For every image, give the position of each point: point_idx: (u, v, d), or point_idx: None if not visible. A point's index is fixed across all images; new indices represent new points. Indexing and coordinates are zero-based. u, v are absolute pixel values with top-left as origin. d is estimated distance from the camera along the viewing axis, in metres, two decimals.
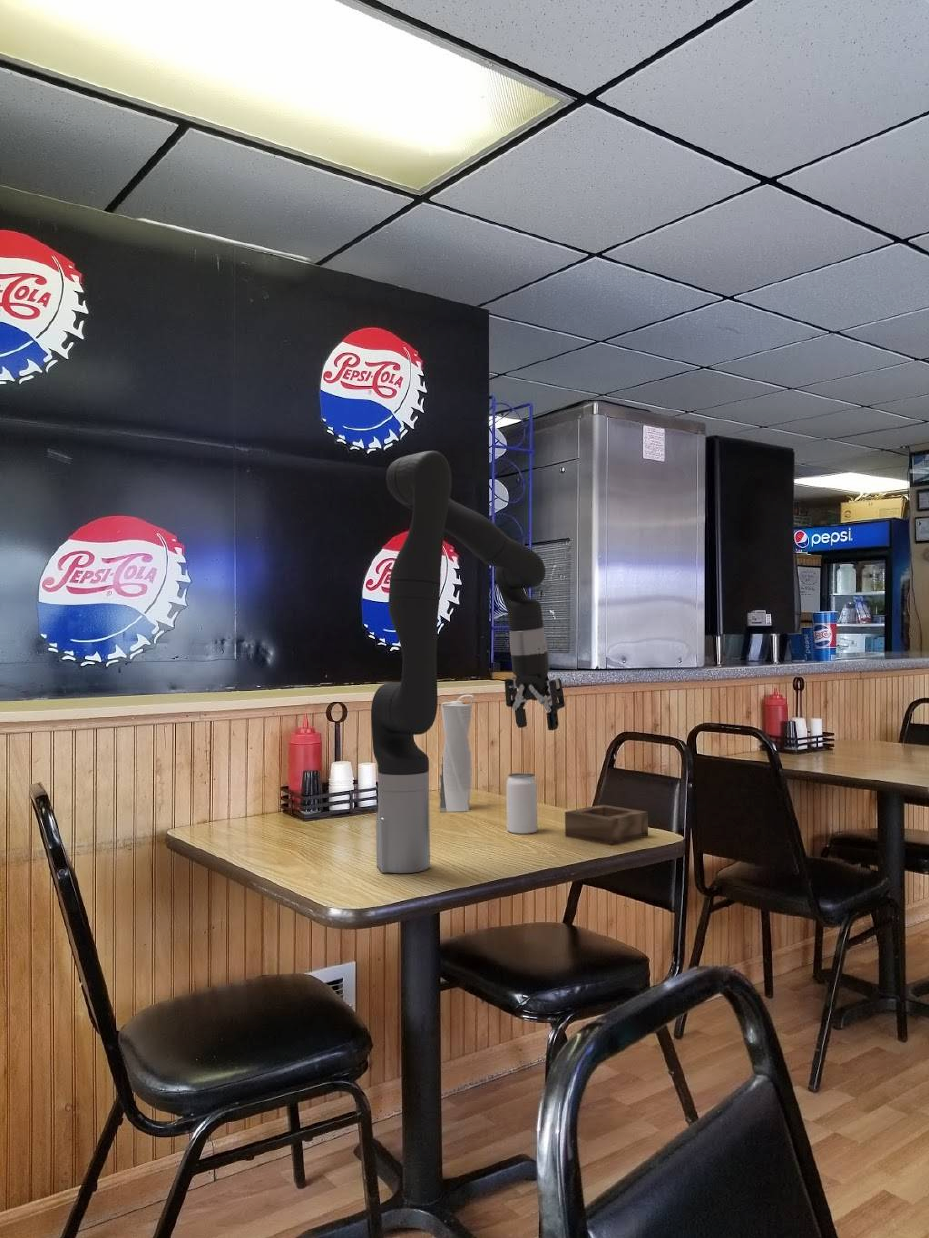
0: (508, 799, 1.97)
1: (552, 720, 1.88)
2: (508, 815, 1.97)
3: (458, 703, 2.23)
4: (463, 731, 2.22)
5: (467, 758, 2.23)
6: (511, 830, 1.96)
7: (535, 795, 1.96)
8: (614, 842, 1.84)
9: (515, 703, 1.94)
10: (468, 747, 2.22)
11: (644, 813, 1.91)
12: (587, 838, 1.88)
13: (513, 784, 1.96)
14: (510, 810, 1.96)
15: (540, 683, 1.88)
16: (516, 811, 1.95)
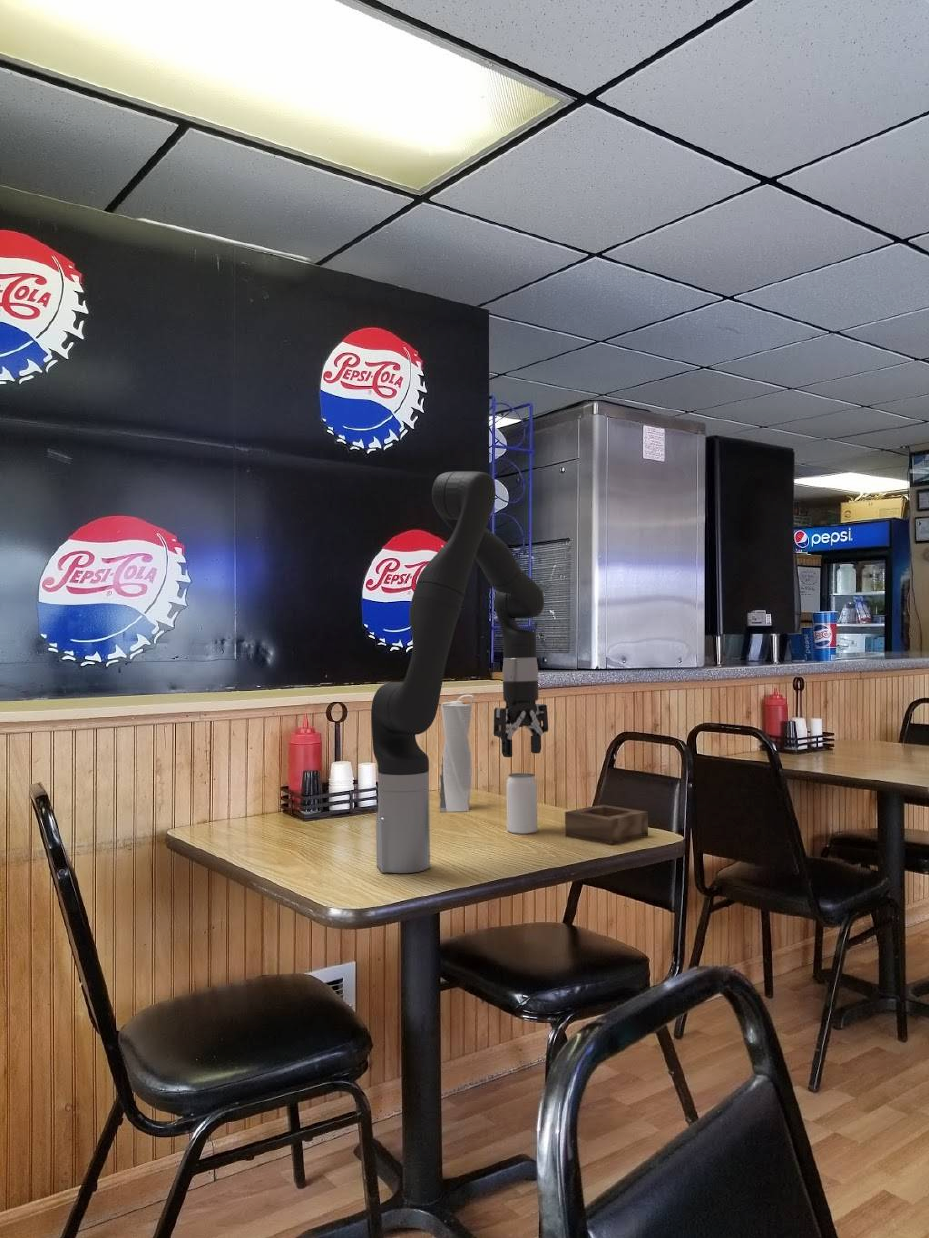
0: (508, 799, 1.97)
1: (540, 743, 2.01)
2: (508, 815, 1.97)
3: (458, 703, 2.23)
4: (463, 731, 2.22)
5: (467, 758, 2.23)
6: (511, 830, 1.96)
7: (535, 795, 1.96)
8: (614, 842, 1.84)
9: (510, 732, 1.94)
10: (468, 747, 2.22)
11: (644, 813, 1.91)
12: (587, 838, 1.88)
13: (513, 784, 1.96)
14: (510, 810, 1.96)
15: (535, 708, 2.00)
16: (516, 811, 1.95)
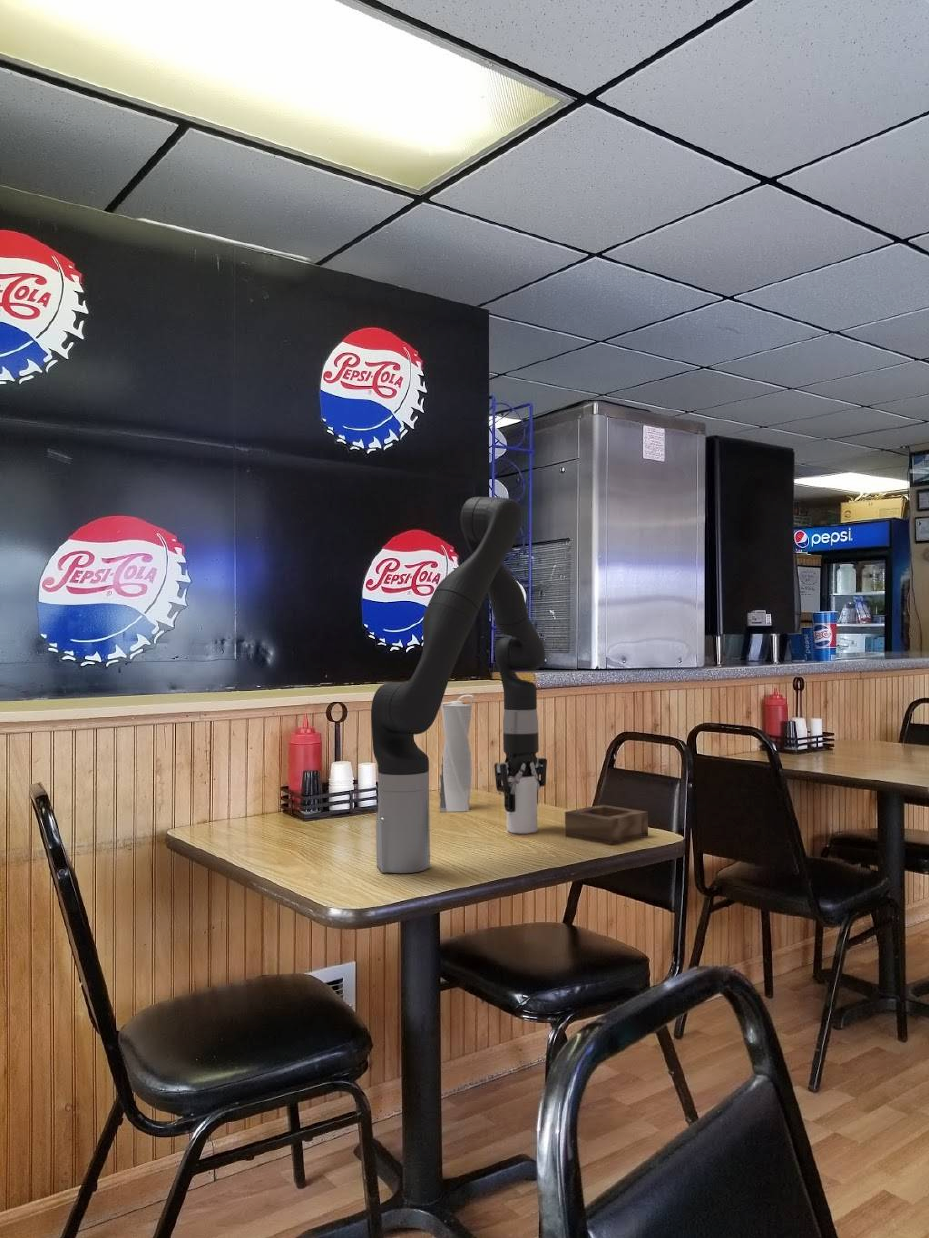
0: None
1: (537, 797, 2.00)
2: (508, 815, 1.97)
3: (458, 703, 2.23)
4: (463, 731, 2.22)
5: (467, 758, 2.23)
6: (511, 830, 1.96)
7: (535, 795, 1.96)
8: (614, 842, 1.84)
9: (513, 787, 1.95)
10: (468, 747, 2.22)
11: (644, 813, 1.91)
12: (587, 838, 1.88)
13: None
14: None
15: (535, 760, 1.99)
16: (516, 811, 1.95)
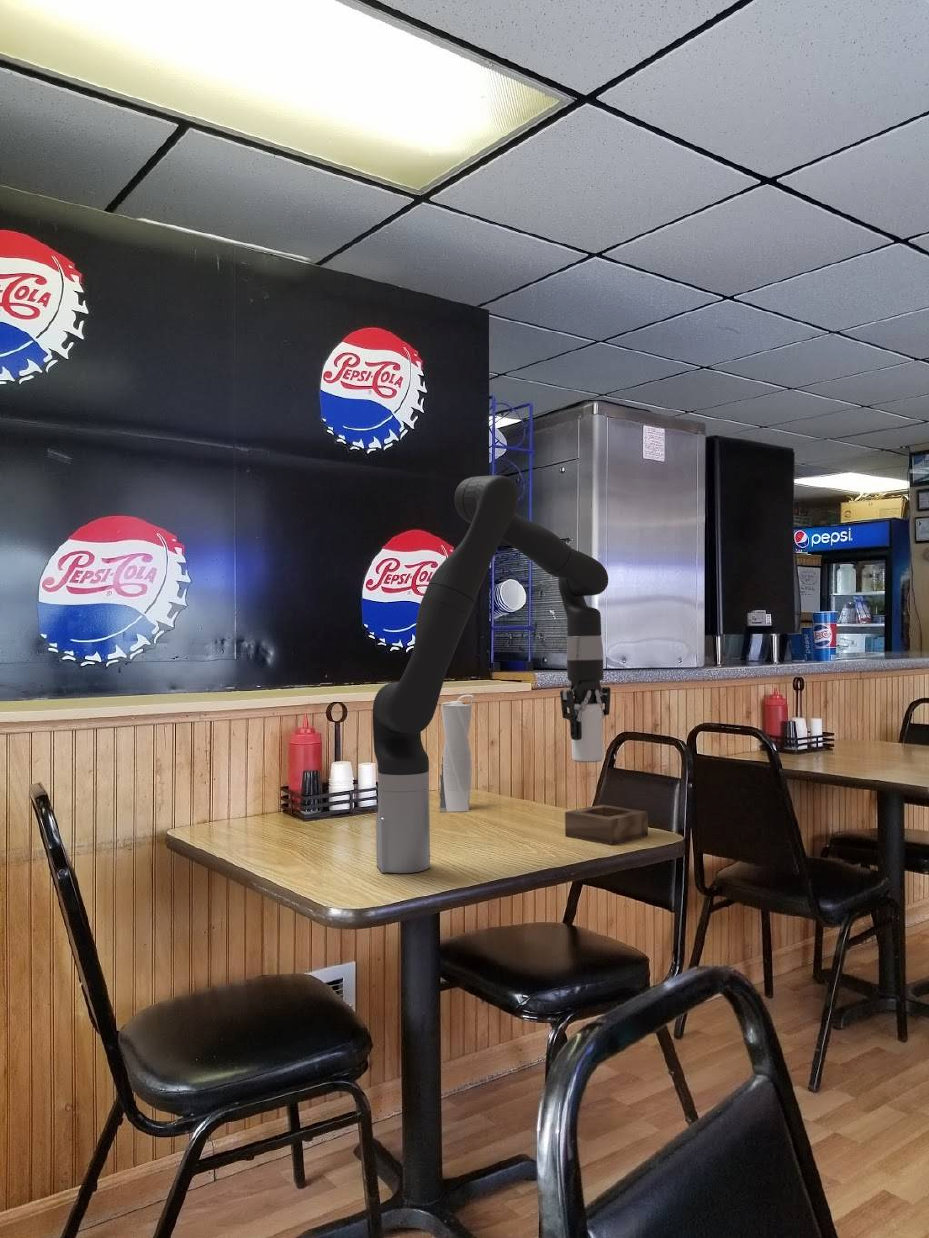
0: None
1: None
2: (573, 743, 1.93)
3: (458, 703, 2.23)
4: (463, 731, 2.22)
5: (467, 758, 2.23)
6: (577, 758, 1.92)
7: (601, 723, 1.93)
8: (614, 842, 1.84)
9: (580, 714, 1.91)
10: (468, 747, 2.22)
11: (644, 813, 1.91)
12: (587, 838, 1.88)
13: None
14: None
15: (599, 688, 1.96)
16: (582, 739, 1.91)
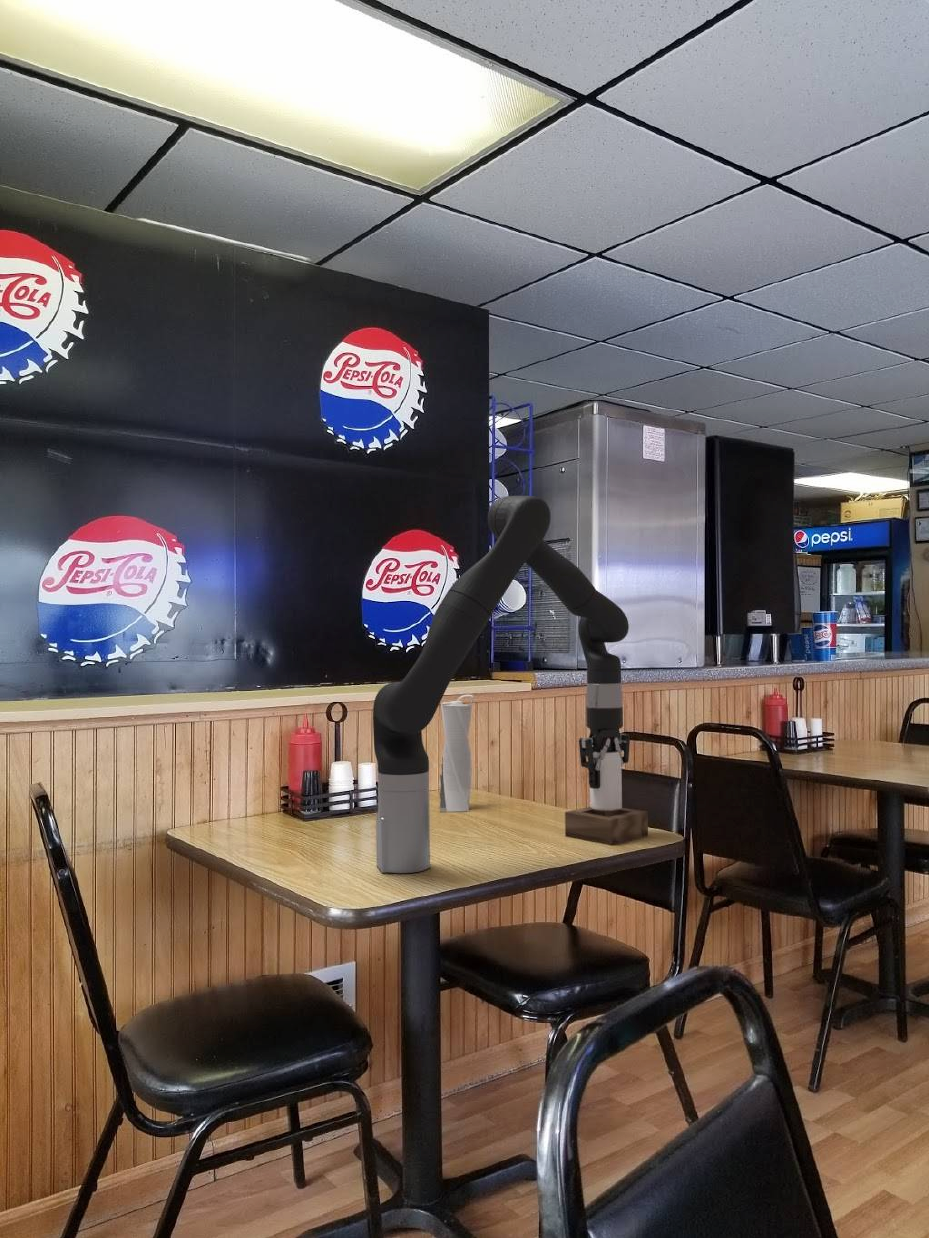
0: None
1: None
2: (592, 792, 1.91)
3: (458, 703, 2.23)
4: (463, 731, 2.22)
5: (467, 758, 2.23)
6: (595, 807, 1.90)
7: (620, 771, 1.91)
8: (614, 842, 1.84)
9: (598, 762, 1.89)
10: (468, 747, 2.22)
11: (644, 813, 1.91)
12: (587, 838, 1.88)
13: None
14: None
15: (618, 736, 1.94)
16: (600, 788, 1.89)
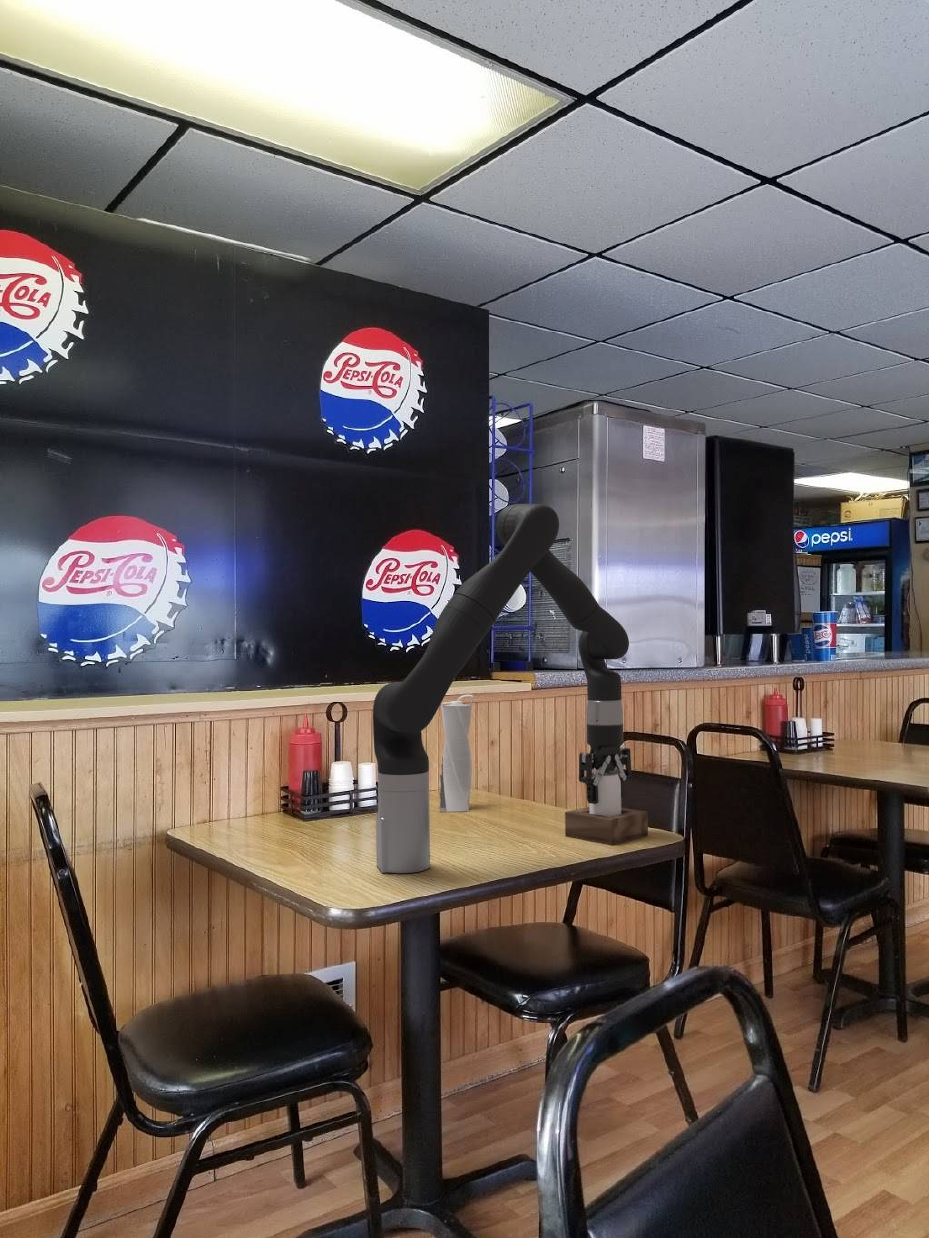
0: None
1: (623, 788, 1.95)
2: None
3: (458, 703, 2.23)
4: (463, 731, 2.22)
5: (467, 758, 2.23)
6: None
7: (619, 794, 1.90)
8: (614, 842, 1.84)
9: (596, 777, 1.88)
10: (468, 747, 2.22)
11: (644, 813, 1.91)
12: (587, 838, 1.88)
13: None
14: (594, 809, 1.90)
15: (619, 752, 1.94)
16: (600, 811, 1.89)
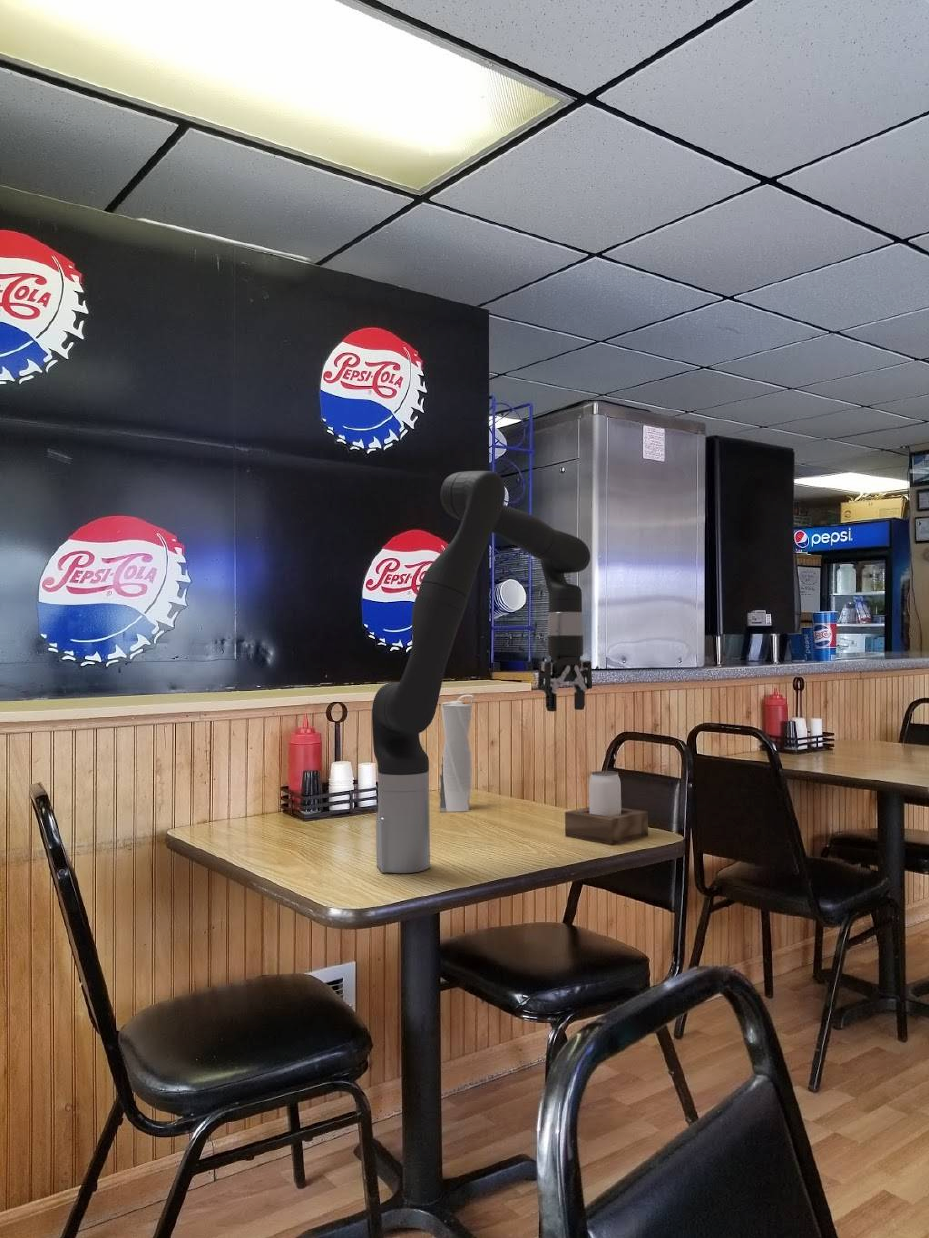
0: (591, 798, 1.91)
1: (584, 699, 2.00)
2: None
3: (458, 703, 2.23)
4: (463, 731, 2.22)
5: (467, 758, 2.23)
6: None
7: (619, 794, 1.90)
8: (614, 842, 1.84)
9: (555, 686, 1.93)
10: (468, 747, 2.22)
11: (644, 813, 1.91)
12: (587, 838, 1.88)
13: (597, 782, 1.90)
14: (594, 809, 1.90)
15: (579, 664, 1.99)
16: (600, 810, 1.89)
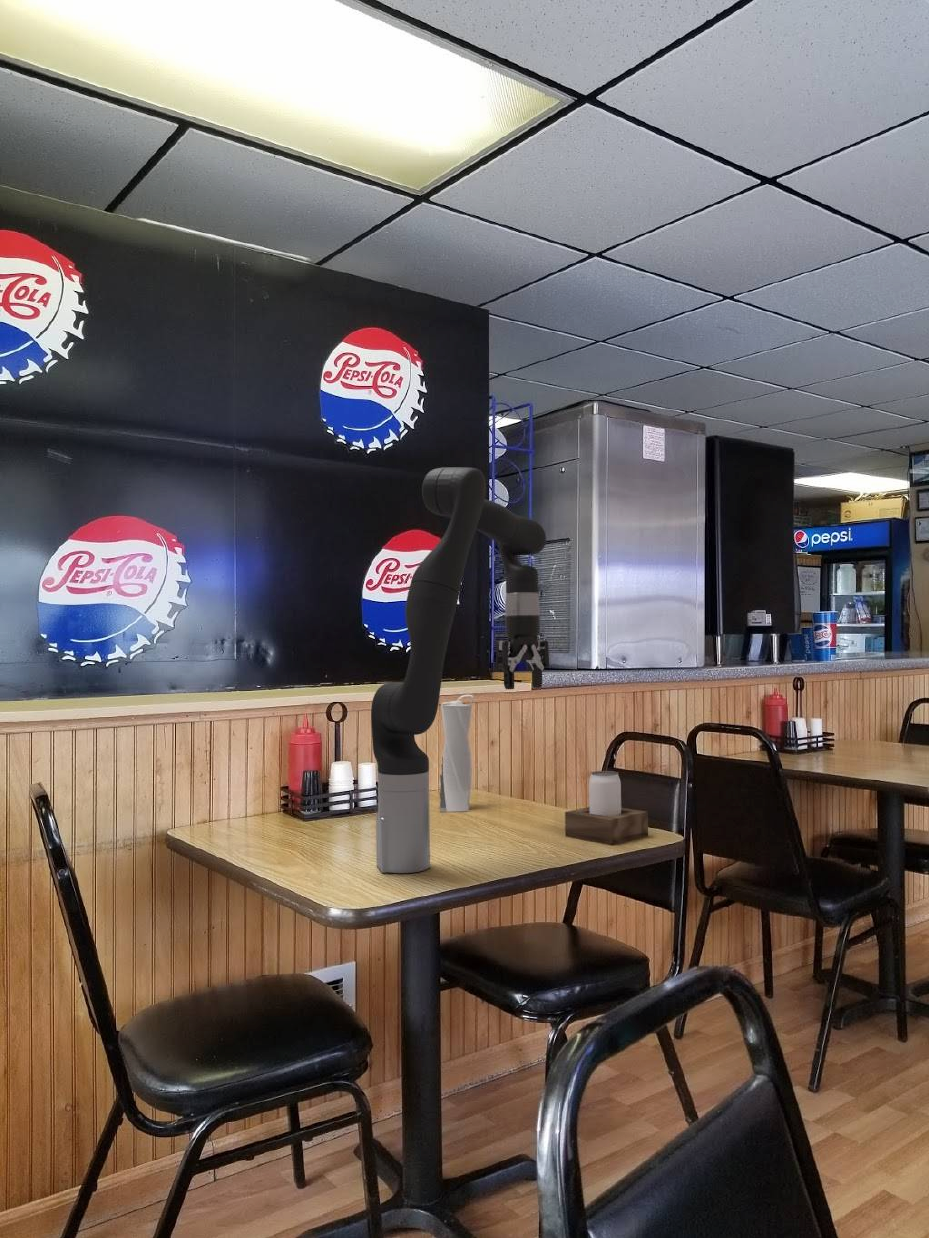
0: (591, 798, 1.91)
1: (541, 678, 2.06)
2: None
3: (458, 703, 2.23)
4: (463, 731, 2.22)
5: (467, 758, 2.23)
6: None
7: (619, 794, 1.90)
8: (614, 842, 1.84)
9: (512, 664, 1.99)
10: (468, 747, 2.22)
11: (644, 813, 1.91)
12: (587, 838, 1.88)
13: (597, 782, 1.90)
14: (594, 809, 1.90)
15: (536, 643, 2.04)
16: (600, 811, 1.89)
